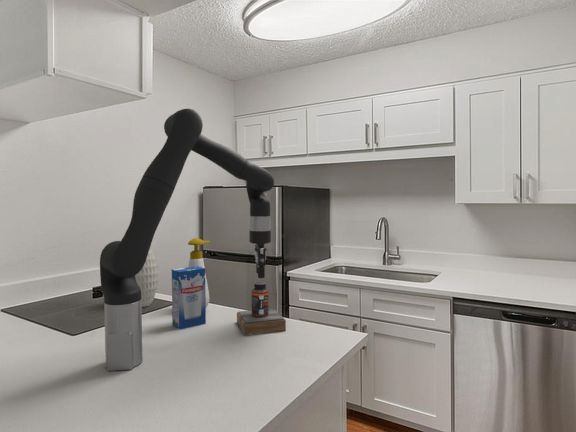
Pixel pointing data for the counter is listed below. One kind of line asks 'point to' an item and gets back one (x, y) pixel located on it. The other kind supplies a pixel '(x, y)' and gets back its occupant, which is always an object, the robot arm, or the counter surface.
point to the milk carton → (188, 297)
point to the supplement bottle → (260, 300)
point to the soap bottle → (198, 261)
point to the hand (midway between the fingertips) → (260, 275)
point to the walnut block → (261, 322)
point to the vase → (148, 279)
